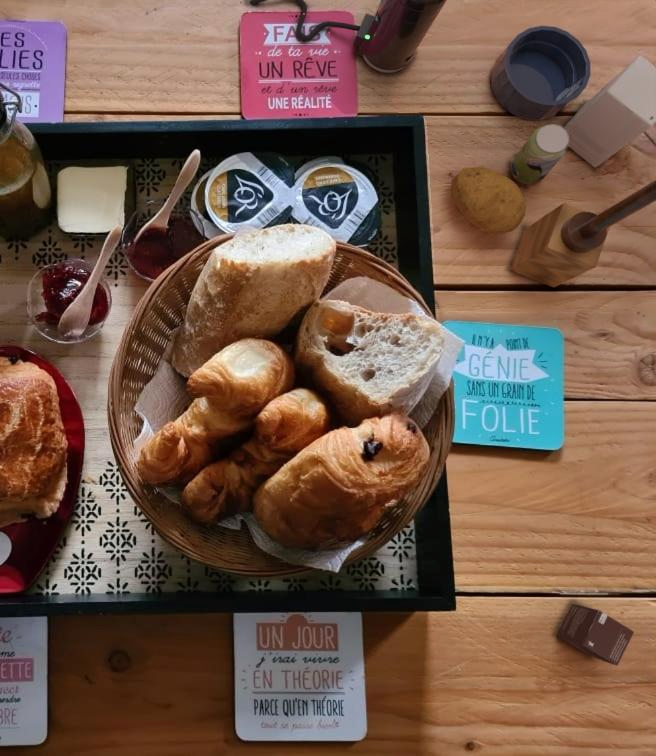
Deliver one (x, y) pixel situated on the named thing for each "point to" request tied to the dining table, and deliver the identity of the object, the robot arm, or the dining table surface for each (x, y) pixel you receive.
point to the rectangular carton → (615, 113)
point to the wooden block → (552, 250)
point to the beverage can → (540, 154)
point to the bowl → (540, 73)
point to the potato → (488, 199)
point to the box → (595, 634)
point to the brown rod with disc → (603, 220)
